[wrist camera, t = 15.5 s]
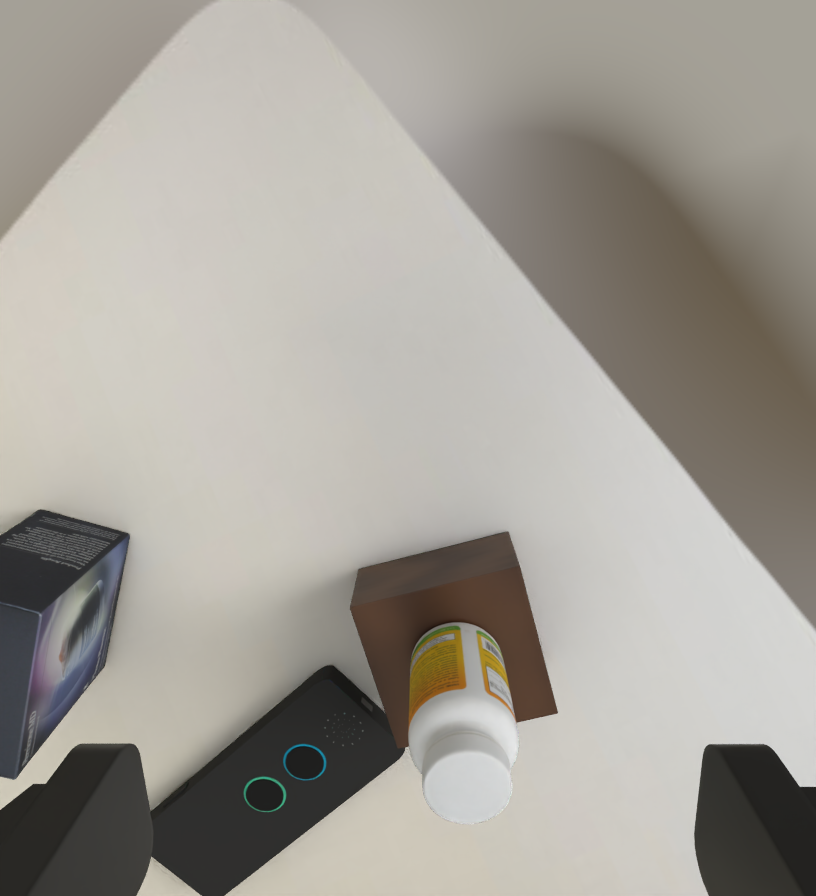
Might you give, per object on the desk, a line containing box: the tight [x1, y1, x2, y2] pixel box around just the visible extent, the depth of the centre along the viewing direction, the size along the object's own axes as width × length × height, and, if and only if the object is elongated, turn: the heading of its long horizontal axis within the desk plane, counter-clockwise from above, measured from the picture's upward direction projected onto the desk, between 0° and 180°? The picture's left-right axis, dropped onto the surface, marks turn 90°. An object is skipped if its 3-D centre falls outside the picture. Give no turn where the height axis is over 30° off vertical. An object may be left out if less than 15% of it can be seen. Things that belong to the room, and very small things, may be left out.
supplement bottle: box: [408, 622, 519, 824], centre depth 33 cm, size 5×5×10 cm
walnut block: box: [350, 532, 558, 749], centre depth 40 cm, size 10×10×5 cm
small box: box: [0, 510, 130, 780], centre depth 37 cm, size 11×6×10 cm, turn 164°
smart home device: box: [151, 666, 405, 896], centre depth 45 cm, size 8×2×20 cm
